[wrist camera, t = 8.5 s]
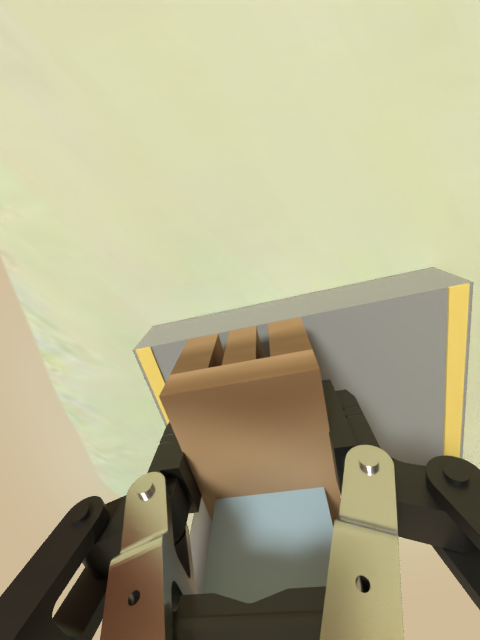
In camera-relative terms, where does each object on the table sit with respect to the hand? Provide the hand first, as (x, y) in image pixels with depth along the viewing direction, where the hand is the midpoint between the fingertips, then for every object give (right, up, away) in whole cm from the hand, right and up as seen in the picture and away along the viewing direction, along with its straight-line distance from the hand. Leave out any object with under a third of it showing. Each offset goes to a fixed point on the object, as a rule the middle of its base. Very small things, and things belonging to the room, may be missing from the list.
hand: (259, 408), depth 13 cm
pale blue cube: (+1, -4, -2) cm, 5 cm away
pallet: (+1, -2, +2) cm, 3 cm away
